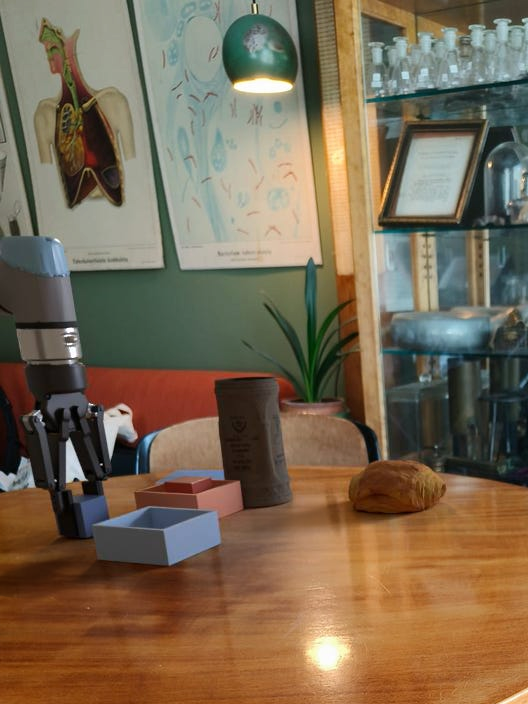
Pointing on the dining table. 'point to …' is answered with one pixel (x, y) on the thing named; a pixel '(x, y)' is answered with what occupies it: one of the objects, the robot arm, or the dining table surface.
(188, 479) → the red block
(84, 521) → the blue block
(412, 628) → the dining table surface
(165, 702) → the dining table surface
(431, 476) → the croissant
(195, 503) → the red bin
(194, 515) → the blue bin
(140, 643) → the dining table surface
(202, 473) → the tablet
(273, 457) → the brown tall cylinder
